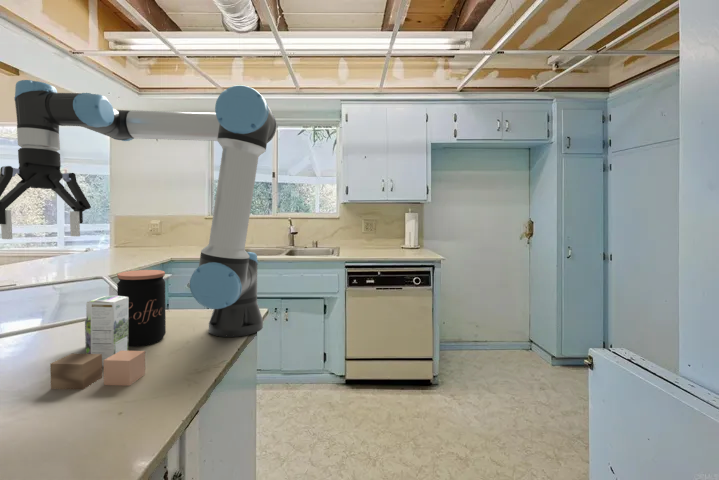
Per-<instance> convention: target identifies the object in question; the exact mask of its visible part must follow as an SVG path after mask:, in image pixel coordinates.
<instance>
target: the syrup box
mask: <svg viewBox="0 0 719 480" xmlns="http://www.w3.org/2000/svg"><path fill="white" fill-rule="evenodd" d="M85 305H86V308H85V309H86V315H85V316H86V319H85V320H86V346H85V352H86V353H85V354H102V368H104V360H105V359H107V358H108V357H110V356H112V355H114V354H116V353H117V352H119V351H129V347H128V327H129V297H125V296H118V295H104V296H103V295H102V296H100V297H98V298H95V299H94V298H93V299H92V300H89V301H87V302H86V304H85Z"/></svg>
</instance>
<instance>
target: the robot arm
mask: <svg viewBox="0 0 719 480" xmlns="http://www.w3.org/2000/svg"><path fill="white" fill-rule="evenodd" d="M14 92H15V93H14V97H13V98H14V103H15V104H14V105H15V113H16V121H17V122H16V124H17V125H16V132H17V133H16V136H17V138H16V139H17V146H18V147H20V148H18V149H17V156H18V159H17V160H18V168H16V167H13V166H11V165H5V166H1V167H0V197H1V196H2V195H3V193H4V192H5V190H6V188H7V187H8V185H9V184H10V182H11V180H12V179H13V177H15V176H16V175H18V176H19V178H20V180H19V182H18V183H17V184H16V185H15V186H14V187H13V188H12V189H10V191H9V192H8V193H6V194H5V195H4V196H2V197H1V199H0V229H1V239H2V240H13V226H12V225H13V221H12V210H11V209H7V208H8V207H10V205H12V204H13V203H14V202H15V201H16V200H17V199H18V198H19V197H20V196H21V195H22V194H23V193H25V192H26V191H27V190H28V189H30V188H31V189H43V190H45V189H46V190H52V191H53V192H55V193H56V194H57V196H59V198H61V199H62V201H63V202H64V203H66V204H67V205H68V207H70V209H72V211H69V225H70V226H69V227H70V228H69V229H70V230H69V231H70V237H81V228H80V227H81V225H80V224H83V223H84V219H83V217H84V216H83V212H85V211H87V210H90V209H91V208H92V207H91V204H90V202H89V200H88V198H87V197H86V195H85V194H84V192H83V190H82V189H81V187H80V185H79V183H78V181H77V175H76V173H75V172H66V173H63V172H62V171H61V166H62V165H61V153H60V152H58V151H60V150H61V145H60V126H61V127H65V126H67V127H68V126H69V127H81V128H85V129H87V130H90V131H92V132H95V133H99V134H100V135H104V136H107V137H109V138H111V139H114V140H116V141H122V142H130V141H132V140H134V139H136V140H137V139H141V140H168V141H169V140H170V141H171V140H174V141H177V140H179V141H201V142H202V141H203V142H205V141H206V142H218V144H219V146H221V148H222V152H221V158H220V166H219V173H218V179H217V184H216V185H217V186H216V194H215V199H214V200H215V201H214V206H213V214H212V220H211V226H210V227H211V228H210V233H209V241H208V244H207V246H205V247H204V248H202V249H201V250H200V257H199V262H198V266H197V268H195V270H194V271H193V273H192V274H191V276H190V280H189V290H190V293H191V295H192V297H193V299H195V301H197V303H199V304H200V305H201V306H202V307H205V308H208V309H211V310H213V311H212V314H211V316H210V319H209V322H208V332H209V334H210V335H213V336H217V337H222V338H231V337H232V338H233V337H234V338H235V337H242V336H243V337H245V336H249V335H253V334H255V333H256V334H257V333H258V332H260V331H262V329H263V328H264V319H263V316H262V313H261V309H260V307H259V304H258V265H259V261H258V255H257V253H256V252H253V251H252V252H251V251H246V243H247V235H248V227H249V223H250V215H251V208H252V201H253V196H254V190H255V182H256V176H257V170H258V164H259V163H258V162H259V157H260V156H261V155H262V154H264V153H265V152H266V151H267V145H268V143H269V142H271V141H272V139H273V138H274V136H275V134H276V132H277V120H276V117H275V115H274V113H273V111H272V110H271V108H270V106H269V105H268V101H267V100H266V99H265V97H264V96H263V95H262V94H260V92H259V91H257V90H256V89H255V88H252V87H251V86H248V85H243V84H242V85H241V84H238V85H237V84H236V85H232V86H229V87H228V88H226V89H225V90H222V91H221V93H220V94H219V95H218V97H217V99H216V102H215V107H214V110H215V112H194V111H193V112H191V111H187V112H186V111H163V110H162V111H160V110H158V111H157V110H128V109H125V110H124V109H115V108H114V107H113V105H112V103H111V102H110V101H109V100H108V98H107V97H106V96H105V95H102V94H98V93H97V94H96V93H91V92H82V93H78V92H77V93H76V92H58V89H56V87H55V86H54V85H51V84H49V83H46V82H42V81H39V80H36V81H35V80H30V79H22V80H19V81H17V82H16V83H15V89H14ZM62 179H63V181H64V182H65V183H66V186H67V187H68V188H69V190H70V193H72V195H71V194H70V193H69V191H68V190H67V189H66V188H65V186H64V185H63V184H62V182H60V181H61V180H62Z"/></svg>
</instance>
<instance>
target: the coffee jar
mask: <svg viewBox="0 0 719 480" xmlns="http://www.w3.org/2000/svg"><path fill="white" fill-rule="evenodd" d="M165 275H166V272H165V271H164V270H160V269H141V270H140V269H139V270H138V269H137V270H126V271H123V272H119V273H117V276H116V277H117V279H118V280H119V281H118V282H117V284H116V286H117V291H116V292H117V293H116V295H117V296H125V297H129V327H128V348H129V347H132V348H134V347H136V348H137V347H143V346H150V345H153V344H156V343H158V342H160V341H161V340H163V338H164V337H165V335H166V332H167V331H166V328H167V326H166V324H167V323H166V280H165V279H164V277H165Z"/></svg>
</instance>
